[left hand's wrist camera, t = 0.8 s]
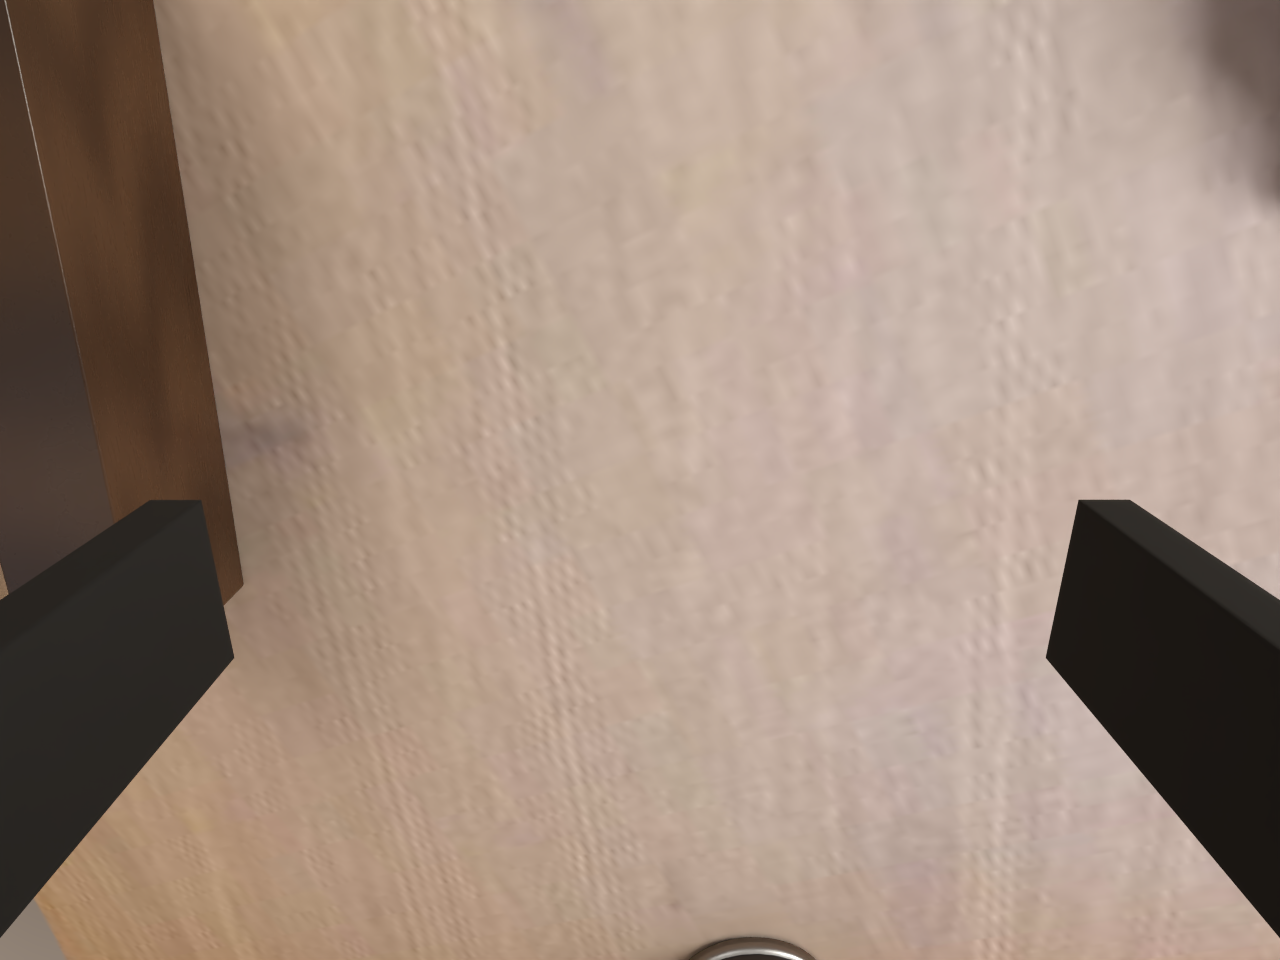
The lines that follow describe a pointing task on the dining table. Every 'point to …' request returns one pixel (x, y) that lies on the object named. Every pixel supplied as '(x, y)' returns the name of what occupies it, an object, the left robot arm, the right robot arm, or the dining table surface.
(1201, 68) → the dining table surface
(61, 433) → the bar
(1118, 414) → the dining table surface
